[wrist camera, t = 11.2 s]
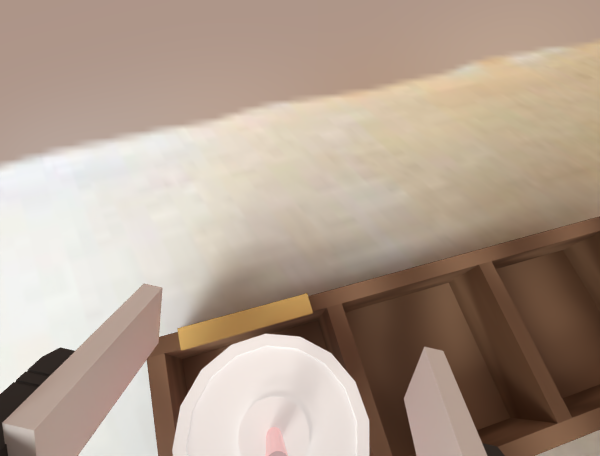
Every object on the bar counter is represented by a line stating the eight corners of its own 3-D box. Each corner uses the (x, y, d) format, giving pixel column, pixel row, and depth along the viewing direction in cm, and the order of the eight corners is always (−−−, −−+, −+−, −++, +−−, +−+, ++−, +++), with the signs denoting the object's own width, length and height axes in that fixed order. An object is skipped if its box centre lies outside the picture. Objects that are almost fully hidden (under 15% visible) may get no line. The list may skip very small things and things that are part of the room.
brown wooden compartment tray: (555, 237, 26) (612, 206, 22) (642, 381, 22) (732, 379, 18) (168, 345, 21) (141, 333, 17) (197, 550, 18) (173, 604, 13)
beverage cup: (195, 463, 18) (28, 633, 6) (236, 342, 21) (185, 267, 8) (312, 500, 18) (418, 766, 5) (339, 373, 21) (454, 346, 8)
